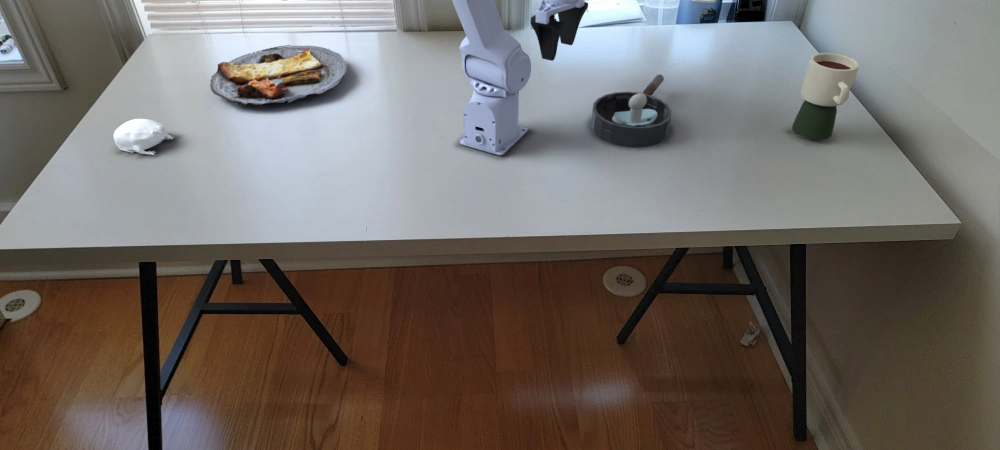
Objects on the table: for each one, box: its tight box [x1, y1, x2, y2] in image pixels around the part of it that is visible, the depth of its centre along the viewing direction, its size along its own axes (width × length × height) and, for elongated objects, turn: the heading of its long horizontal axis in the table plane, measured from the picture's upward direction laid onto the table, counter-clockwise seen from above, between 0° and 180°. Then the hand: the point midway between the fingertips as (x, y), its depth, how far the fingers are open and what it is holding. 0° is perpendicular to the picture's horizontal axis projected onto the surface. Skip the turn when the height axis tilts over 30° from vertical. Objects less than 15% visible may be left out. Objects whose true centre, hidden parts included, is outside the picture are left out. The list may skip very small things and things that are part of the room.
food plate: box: [209, 44, 348, 106], centre depth 124 cm, size 25×23×4 cm
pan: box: [590, 91, 673, 148], centre depth 110 cm, size 13×13×4 cm
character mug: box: [791, 52, 860, 140], centre depth 105 cm, size 11×7×13 cm, turn 3°
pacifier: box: [612, 92, 657, 127], centre depth 109 cm, size 7×6×6 cm
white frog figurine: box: [113, 118, 176, 156], centre depth 105 cm, size 8×7×4 cm
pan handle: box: [641, 74, 665, 96], centre depth 117 cm, size 10×2×2 cm, turn 151°
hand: (557, 51), depth 113 cm, fingers open, 7 cm apart
